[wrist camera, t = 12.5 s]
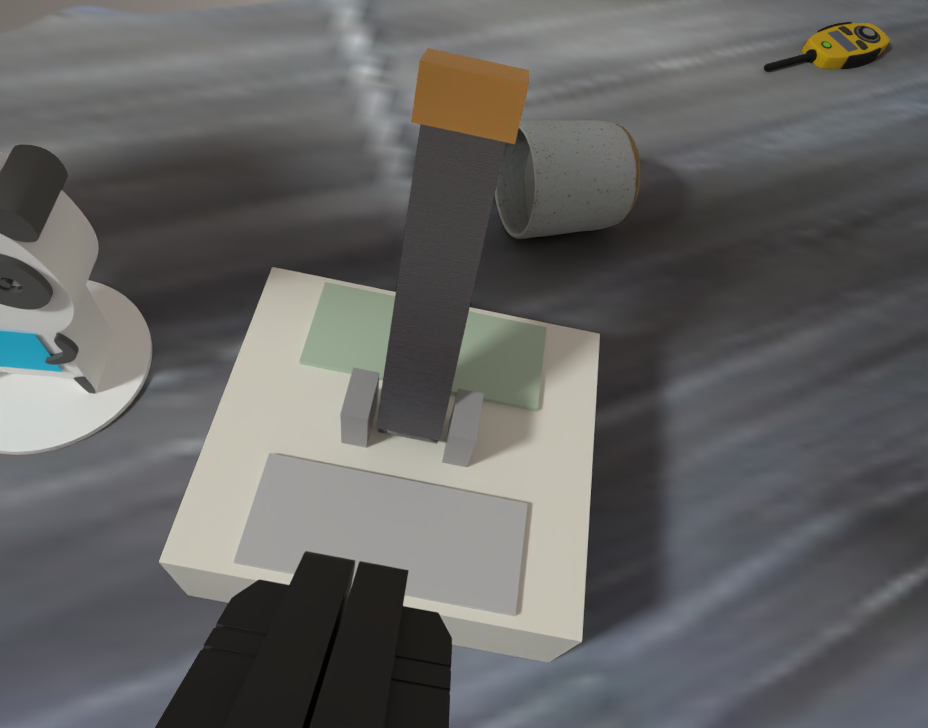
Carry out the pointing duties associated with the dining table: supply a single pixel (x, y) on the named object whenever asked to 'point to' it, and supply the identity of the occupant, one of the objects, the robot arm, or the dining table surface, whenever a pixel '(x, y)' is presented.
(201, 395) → the dining table surface
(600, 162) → the ceramic mug
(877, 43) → the yellow walkie-talkie
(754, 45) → the dining table surface
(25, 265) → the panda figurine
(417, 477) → the switch box
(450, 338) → the lever
